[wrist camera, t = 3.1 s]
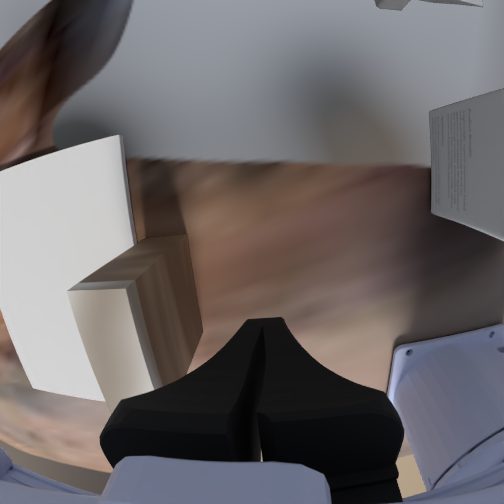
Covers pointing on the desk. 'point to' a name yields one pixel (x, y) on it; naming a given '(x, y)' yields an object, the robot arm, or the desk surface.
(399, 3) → the lighter
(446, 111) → the skincare box
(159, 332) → the brown wooden block
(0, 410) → the desk surface
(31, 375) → the mat
